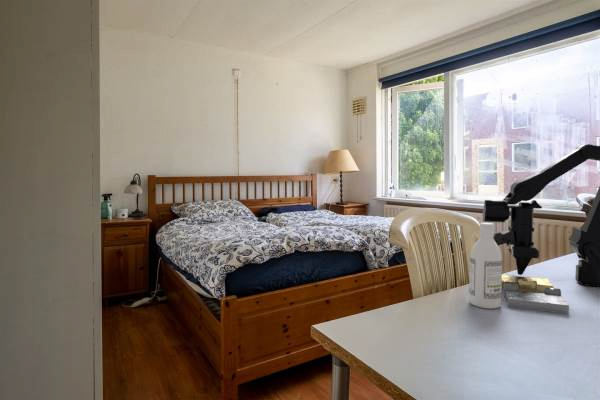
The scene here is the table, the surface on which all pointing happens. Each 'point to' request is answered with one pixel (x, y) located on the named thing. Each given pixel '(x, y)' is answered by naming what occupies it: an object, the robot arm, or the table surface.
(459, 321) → the table surface
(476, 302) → the bath foam
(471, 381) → the table surface
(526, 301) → the fixed leaf
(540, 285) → the brass hinge plate
